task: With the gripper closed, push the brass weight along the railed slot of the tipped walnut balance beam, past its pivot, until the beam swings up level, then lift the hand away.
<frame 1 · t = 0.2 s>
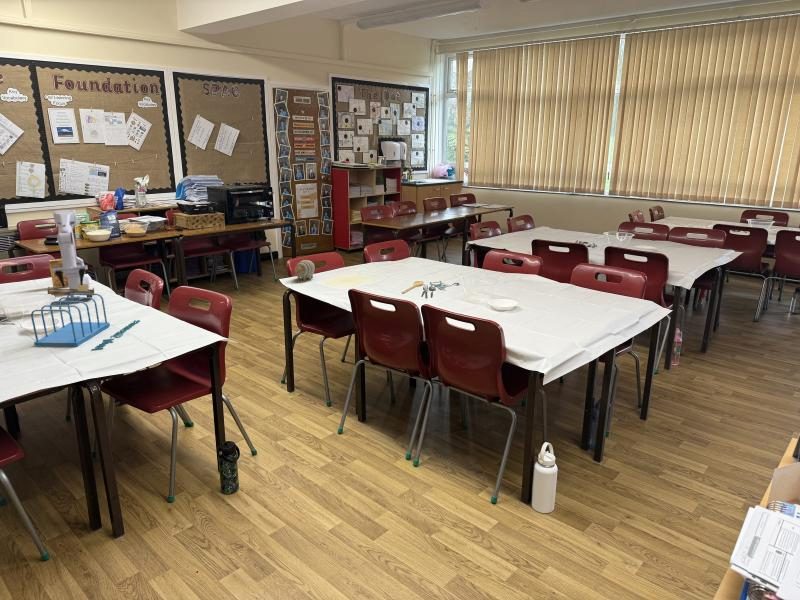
hand: (72, 285, 271), 10 cm above the table, tool pointing down, fingers open, 7 cm apart
brass weight: (82, 291, 284), point 4 cm above the table, tilted 9°, touching beam
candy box: (63, 287, 310), on the table
pivot stand: (72, 301, 283), on the table
file sorter: (74, 336, 234), on the table
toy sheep: (306, 279, 331), on the table
beam: (71, 292, 282), point 4 cm above the table, hinge at 8.9°, touching brass weight
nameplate: (118, 335, 236), on the table
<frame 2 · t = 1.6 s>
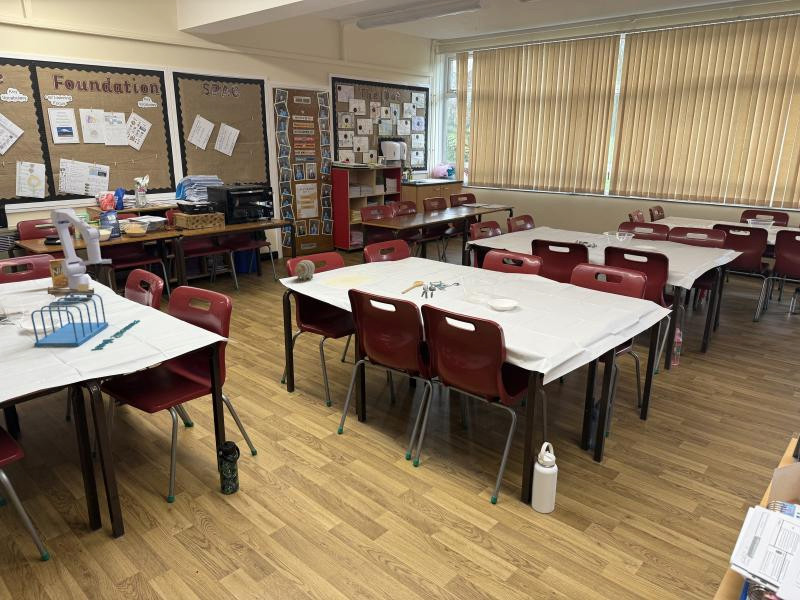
hand: (97, 278, 286), 10 cm above the table, tool pointing down, fingers closed
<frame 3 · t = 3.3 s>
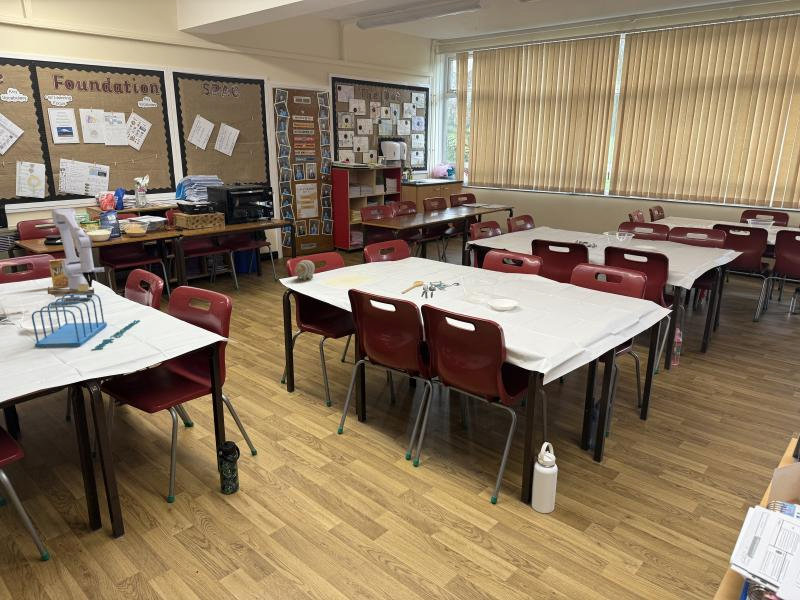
hand: (90, 286, 285), 6 cm above the table, tool pointing down, fingers closed
brass weight: (83, 291, 284), point 4 cm above the table, tilted 9°, touching beam, gripper
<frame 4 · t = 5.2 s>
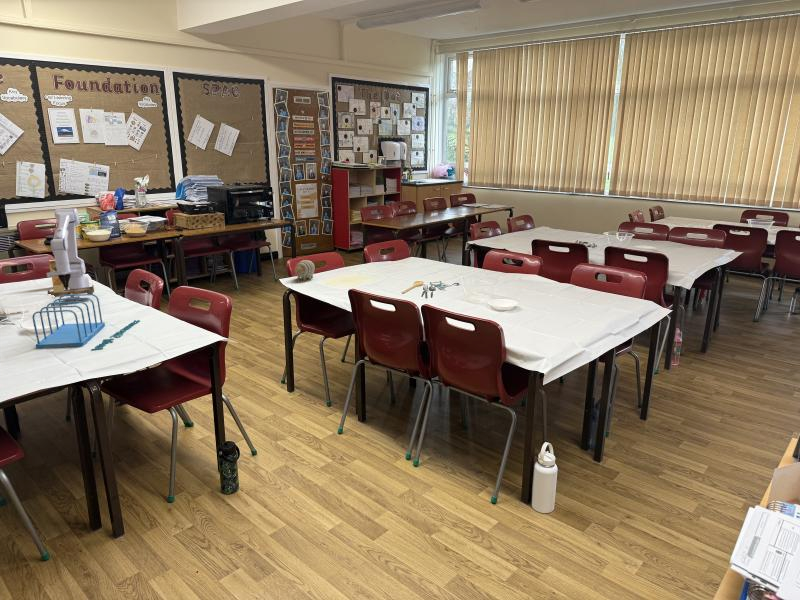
hand: (66, 289, 281), 6 cm above the table, tool pointing down, fingers closed
brass weight: (59, 292, 279), point 5 cm above the table, touching beam, gripper
beam: (71, 292, 282), point 4 cm above the table, hinge at -0.7°, touching brass weight
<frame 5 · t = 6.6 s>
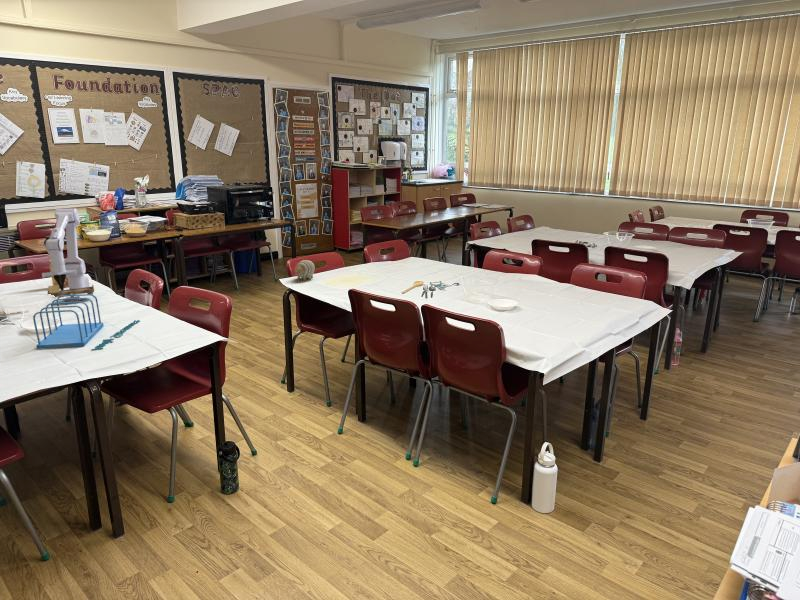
hand: (62, 289, 280), 6 cm above the table, tool pointing down, fingers closed
brass weight: (54, 293, 279), point 5 cm above the table, touching beam, gripper
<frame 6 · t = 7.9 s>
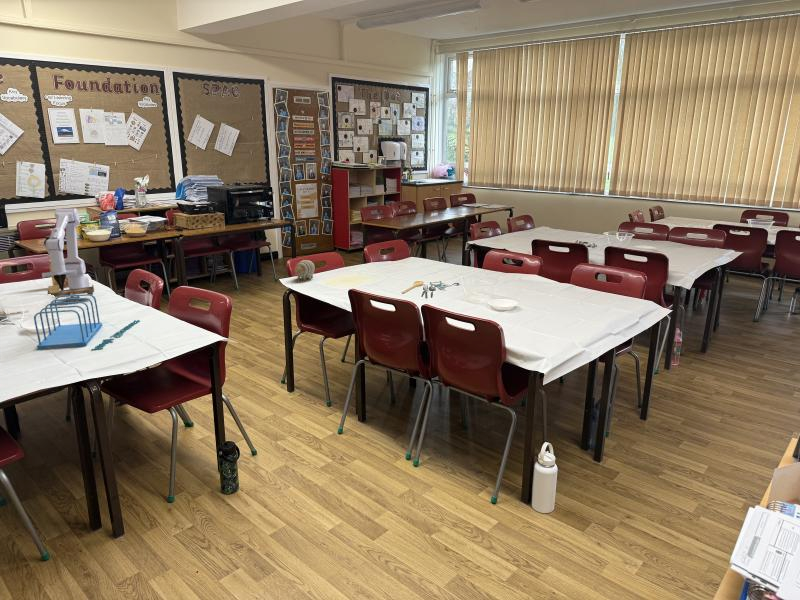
hand: (62, 289, 280), 6 cm above the table, tool pointing down, fingers closed
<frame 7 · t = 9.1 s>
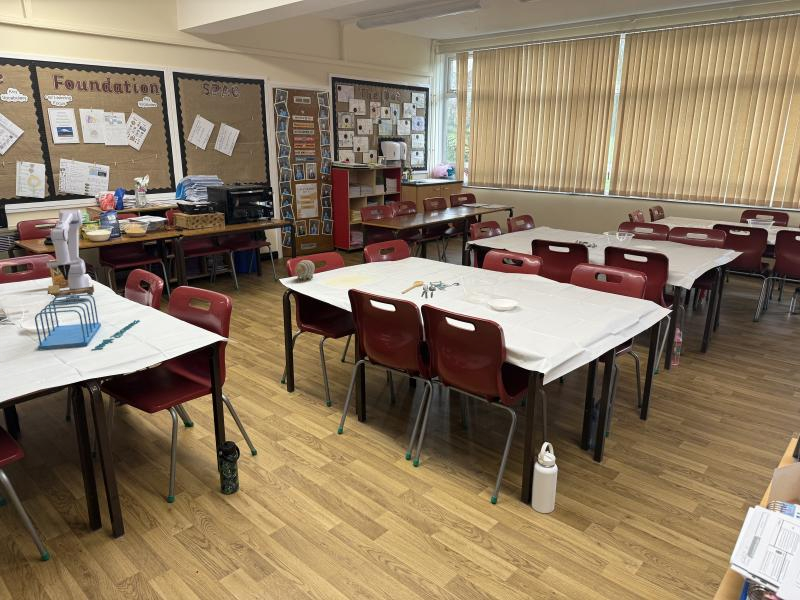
hand: (66, 279, 283), 10 cm above the table, tool pointing down, fingers closed
brass weight: (54, 293, 279), point 5 cm above the table, touching beam
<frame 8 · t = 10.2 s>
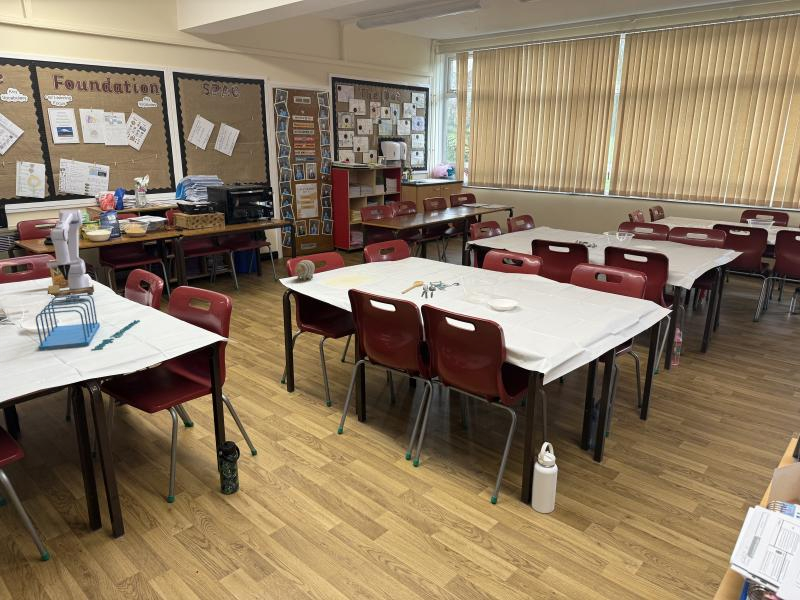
hand: (66, 279, 283), 10 cm above the table, tool pointing down, fingers closed
at the end: beam at -1° (first picture: +9°); brass weight 0.5 cm from the target spot on the beam, point 0.0 cm above the beam's base; brass weight touching beam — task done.
